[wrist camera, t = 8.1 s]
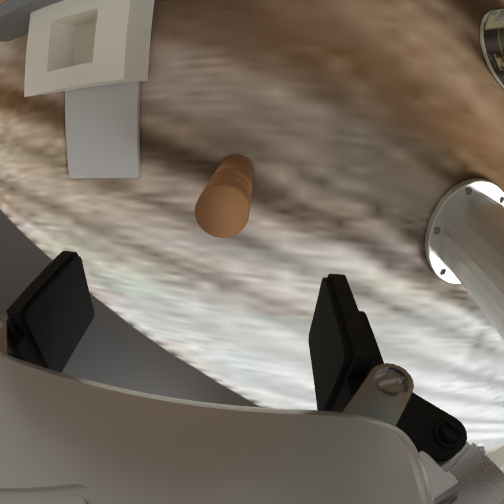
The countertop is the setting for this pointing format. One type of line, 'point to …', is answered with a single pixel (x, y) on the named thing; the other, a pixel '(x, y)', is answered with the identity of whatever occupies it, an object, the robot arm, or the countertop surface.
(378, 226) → the countertop surface
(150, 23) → the socket block
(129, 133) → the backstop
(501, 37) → the coffee can
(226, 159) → the dowel
